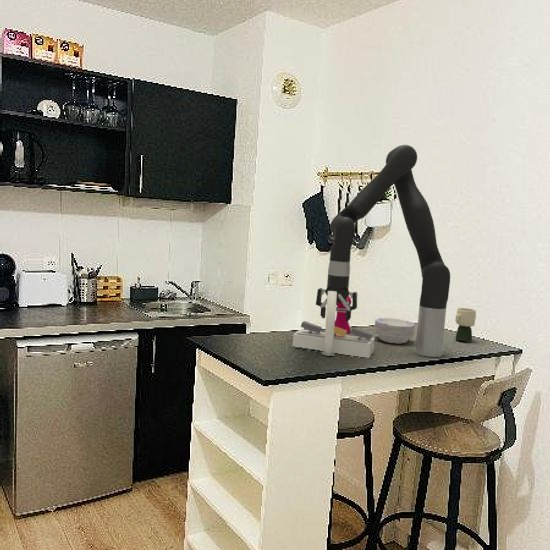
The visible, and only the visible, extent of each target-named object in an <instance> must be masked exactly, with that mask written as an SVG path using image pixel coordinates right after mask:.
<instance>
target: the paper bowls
mask: <svg viewBox="0 0 550 550" xmlns="http://www.w3.org/2000/svg"><path fill="white" fill-rule="evenodd" d="M415 331H416V323H414V322H413V321H409V320H405V319H403V318H395V317H377V318H376V319H375V320H374V333H375V334H377V335H378V337H379V339H380V340H381V341H383V342H384V343H387V342H388V343H389V344H393V343H395V345H402V343H403V344H405V343H407V342H408V341H409V339H410V338H411V339H412V338H413V337H414V335H415ZM388 343H387V344H388Z"/></svg>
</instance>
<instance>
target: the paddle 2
mask: <svg viewBox="0 0 550 550" xmlns="http://www.w3.org/2000/svg"><path fill="white" fill-rule="evenodd" d="M350 330H351V333H350V334H354V335H357V336H360V337H362V338H365V339H368V340H370V339H371V337H372V336H373V333H372V332H369V331H366V330H363V329H360V328H358V327H355V326H353V327H352V328H351V329H350Z"/></svg>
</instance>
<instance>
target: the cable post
mask: <svg viewBox="0 0 550 550" xmlns="http://www.w3.org/2000/svg"><path fill="white" fill-rule="evenodd" d="M336 298H337V292H336V291H328V297H327V298H326V299H327V305H326V314H325V326H324V327H325V329H324V331H325V341H324V352H321V354H323V355H327V356H334V357H335V355H336V354H335V353H333V339H334V325H335V320H336V313H337V311H336V307H337V305H336Z"/></svg>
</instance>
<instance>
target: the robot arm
mask: <svg viewBox="0 0 550 550" xmlns="http://www.w3.org/2000/svg"><path fill="white" fill-rule="evenodd" d="M417 160H418V153H417V151H416V149H415V148H414V147H412V146H411V145H409V144H402V145H399V146H396V147H395V148H393V149H392V150H391V151H389V152H388V153H387V156H386V157H385V165H384V167H383V168H382V169H381V171H379V172H378V174H377V175H376V176H374V177H373V178H372V179H371V181H369V182H368V183H367V184H366V185H365V186H364V187H363V188H362V189H361V190H360V191H359V192H358V193H357V195H356V196H355V197H354V198H353V199H352V200H351V201H350V202H349V204H348V205H347V206H346V207H344V208H343V209H342V210H341V211H340V212H339V213H337V214H336V215H335V216H334V218H332V220H331V222H330V223H329V224H330V226H329V229H330V232H331V233H332V234H333V235H334V242H333V244H332V245H331V247H330V252H329V253H330V254H329V263H328V270H327V282H326V288H325V289H323V288H322V287H320V288H318V289H317V294H316V300H315V305H316V306H318V307H320V314H319V315H320V317H321V319H326V312H327V298H328V291H336V292H337V298H336V302H337V303H343V305H344V306H345V307H346V309H347V311H346V321H348V322H349V321H350V320H351V318H352V311H355V310H356V309H357V308H358V291H353V292H351V291H349V287H350V275H351V252H352V247H353V244H354V239H355V237H356V223H357V222H358V221H360V220H361V219H363V218H365V217H366V216H367V215H368V214H369V213H370V211H371V210H372V209H373V208H374V207H375V206H376V204H377V203H378V202H379V201H380V200H381V199H382V197H383V196H384V195H385V193H387V192H388V190H390V189H391V187H392V186H393V185H394V188H395V190H396V194H397V197H398V201H399V205H400V209H401V212H402V215H403V218H404V222H405V225H406V229H407V231H408V234H409V236H410V238H411V241H412V243H413V245H414V247H415V250H416V252H417V256H418V260H419V265H420V271H421V278H422V279H421V280H422V282H421V290H420V298H419V305H418V307H419V308H418V315H417V317H418V318H417V327H416V329H417V330H416V340H415V341H416V342H415V347H414V348H415V351H414V352H415V354H417V355H418V356H419V355H420V356H422V357H423V356H424V357H429V358H442V355H443V349H444V348H443V346H444V337H445V335H444V334H445V325H446V314H447V306H448V305H447V303H448V300H449V294H450V293H449V292H450V285H451V272H450V270H449V268H448V266H447V265H446V264H445V262H444V261H443V257H442V255H441V253H440V251H439V248H438V244H437V236H436V228H435V223H434V220H433V219H434V218H433V216H432V212H431V209H430V206H429V204H428V201H427V200H426V198H425V197H424V195H423V194H422V193H421V191H420V189H419V188H418V186H417V184H416V181H415V177H414V174H413V170H412V169H413V168H414V167H415V166H416V164H417V162H418V161H417ZM324 294H325V295H326V296H327V298H325V300H324V301H323V302H322V296H323V295H324ZM348 296H349V297H350V298H351V305H350V304H349V302H348V300H347V299H346V298H347V297H348Z"/></svg>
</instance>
